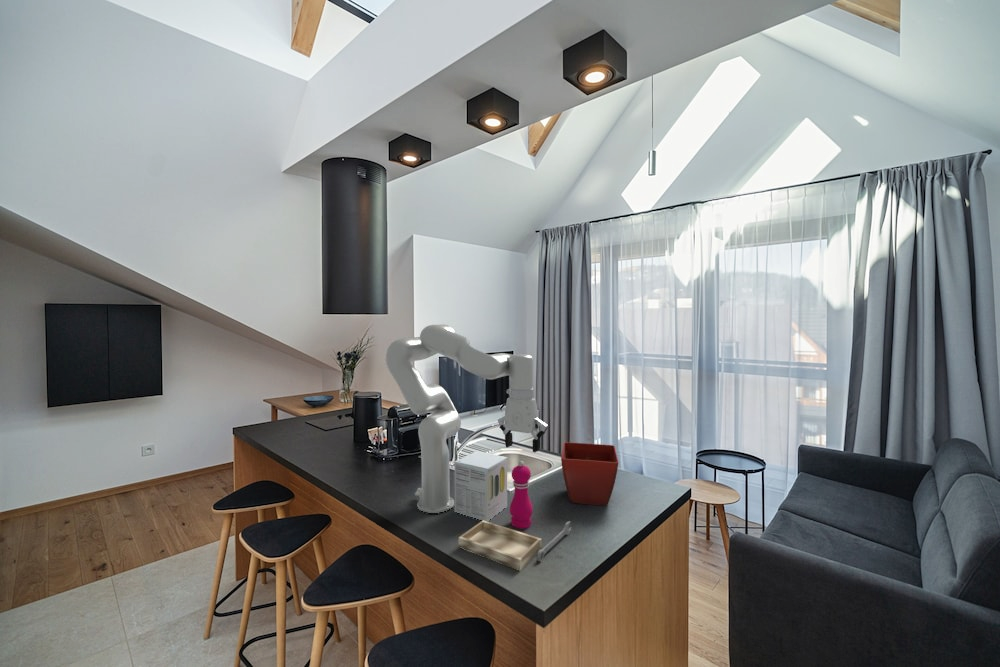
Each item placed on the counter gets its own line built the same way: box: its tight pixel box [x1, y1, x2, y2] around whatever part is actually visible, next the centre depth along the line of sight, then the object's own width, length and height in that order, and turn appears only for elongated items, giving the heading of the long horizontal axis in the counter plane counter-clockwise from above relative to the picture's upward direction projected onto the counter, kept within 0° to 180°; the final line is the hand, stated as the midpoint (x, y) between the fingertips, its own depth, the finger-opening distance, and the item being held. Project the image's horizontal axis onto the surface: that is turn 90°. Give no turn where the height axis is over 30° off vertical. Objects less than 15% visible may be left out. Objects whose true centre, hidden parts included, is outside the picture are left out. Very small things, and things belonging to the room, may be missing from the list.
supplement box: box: [454, 450, 508, 522], centre depth 140 cm, size 13×13×18 cm
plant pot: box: [560, 441, 619, 507], centre depth 149 cm, size 19×19×17 cm
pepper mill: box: [509, 460, 534, 529], centre depth 130 cm, size 7×7×20 cm
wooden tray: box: [458, 520, 543, 572], centre depth 116 cm, size 20×12×3 cm, turn 57°
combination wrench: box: [536, 520, 572, 563], centre depth 118 cm, size 4×1×20 cm
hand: (522, 448), depth 129 cm, fingers open, 9 cm apart
